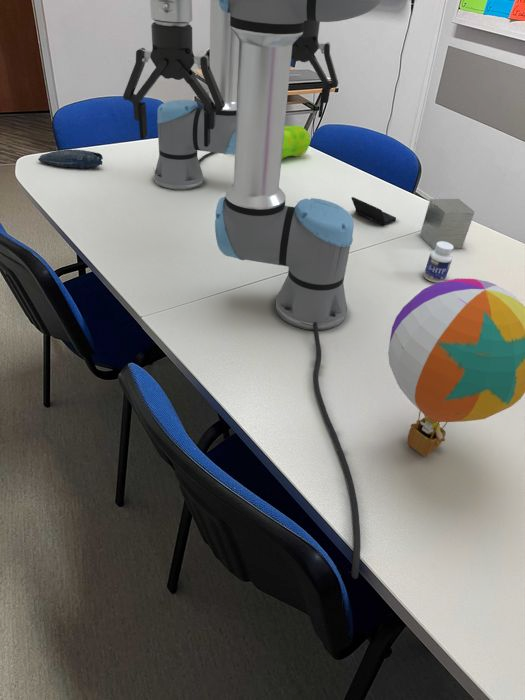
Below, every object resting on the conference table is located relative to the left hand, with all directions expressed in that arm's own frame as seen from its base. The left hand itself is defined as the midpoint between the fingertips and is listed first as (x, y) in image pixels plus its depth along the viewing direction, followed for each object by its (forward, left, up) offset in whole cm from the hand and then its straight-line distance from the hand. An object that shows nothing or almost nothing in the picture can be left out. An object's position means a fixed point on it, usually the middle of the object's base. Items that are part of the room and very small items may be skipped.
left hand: (175, 141), depth 109 cm
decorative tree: (-82, +10, -28) cm, 87 cm away
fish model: (-48, -50, -28) cm, 75 cm away
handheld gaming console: (-39, +47, -28) cm, 67 cm away
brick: (-30, +66, -28) cm, 78 cm away
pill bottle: (-8, +62, -28) cm, 69 cm away
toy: (+49, +55, -28) cm, 78 cm away
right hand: (-35, +22, 0) cm, 41 cm away
